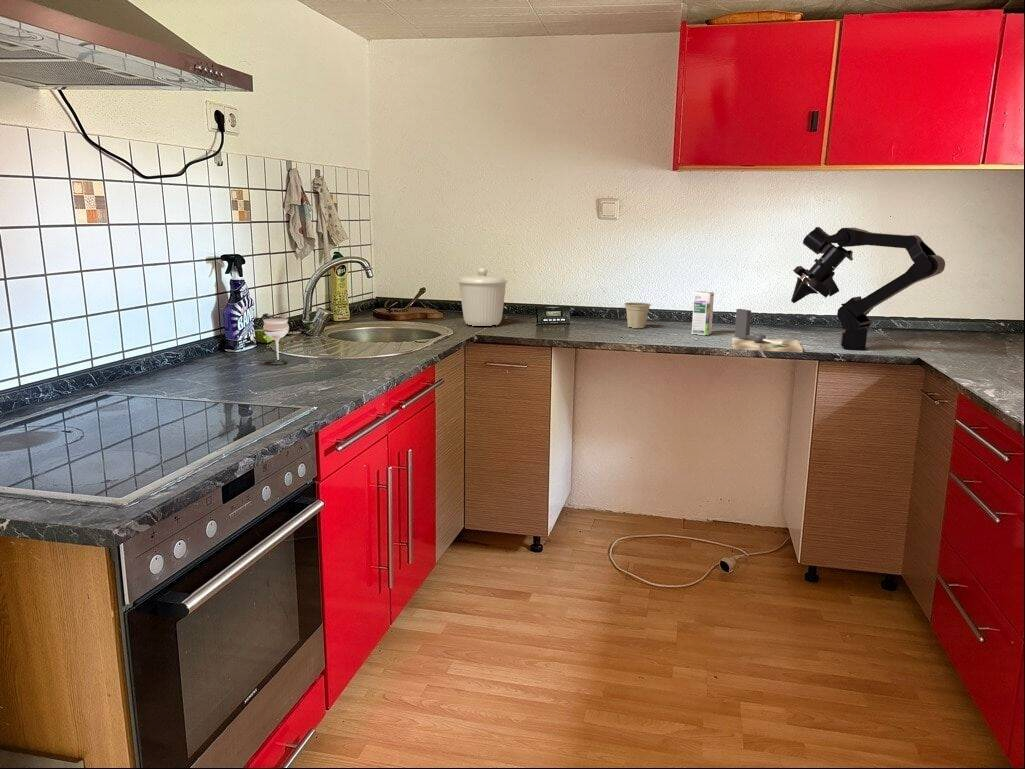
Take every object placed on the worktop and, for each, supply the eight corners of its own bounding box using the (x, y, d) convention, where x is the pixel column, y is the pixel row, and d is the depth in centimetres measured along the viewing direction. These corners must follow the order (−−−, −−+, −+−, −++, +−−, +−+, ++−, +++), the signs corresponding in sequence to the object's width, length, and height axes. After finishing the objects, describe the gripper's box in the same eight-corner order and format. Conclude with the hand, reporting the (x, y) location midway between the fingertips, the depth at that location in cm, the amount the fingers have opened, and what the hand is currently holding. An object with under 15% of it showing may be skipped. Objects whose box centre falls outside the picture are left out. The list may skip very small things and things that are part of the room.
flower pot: (650, 326, 282) (651, 302, 280) (649, 330, 273) (650, 305, 271) (624, 325, 284) (625, 302, 282) (622, 329, 275) (623, 305, 273)
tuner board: (797, 343, 246) (797, 339, 246) (802, 352, 230) (802, 348, 230) (732, 340, 251) (732, 336, 251) (733, 349, 235) (733, 345, 235)
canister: (515, 323, 287) (515, 266, 282) (494, 330, 271) (494, 269, 266) (472, 320, 294) (471, 265, 289) (449, 327, 278) (448, 268, 273)
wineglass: (285, 366, 207) (282, 321, 204) (261, 365, 208) (258, 321, 205) (295, 361, 214) (292, 318, 211) (271, 360, 214) (269, 317, 212)
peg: (740, 336, 251) (742, 308, 249) (786, 345, 233) (789, 316, 231) (732, 336, 250) (734, 309, 248) (777, 346, 232) (780, 316, 230)
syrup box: (690, 334, 263) (693, 292, 259) (695, 332, 268) (697, 290, 265) (707, 336, 260) (710, 293, 257) (711, 333, 265) (714, 291, 262)
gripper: (858, 286, 232) (821, 326, 237) (835, 269, 249) (801, 307, 254) (831, 265, 229) (794, 305, 234) (810, 250, 246) (776, 288, 252)
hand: (792, 302), depth 244 cm, fingers closed
